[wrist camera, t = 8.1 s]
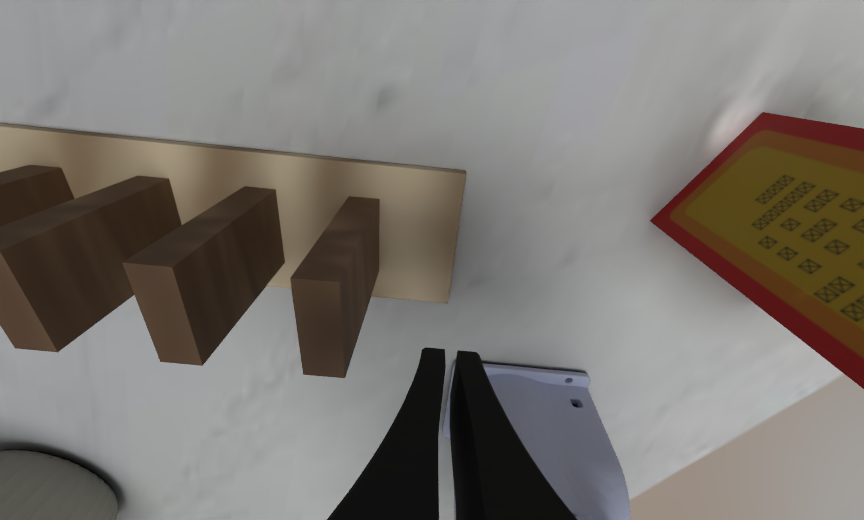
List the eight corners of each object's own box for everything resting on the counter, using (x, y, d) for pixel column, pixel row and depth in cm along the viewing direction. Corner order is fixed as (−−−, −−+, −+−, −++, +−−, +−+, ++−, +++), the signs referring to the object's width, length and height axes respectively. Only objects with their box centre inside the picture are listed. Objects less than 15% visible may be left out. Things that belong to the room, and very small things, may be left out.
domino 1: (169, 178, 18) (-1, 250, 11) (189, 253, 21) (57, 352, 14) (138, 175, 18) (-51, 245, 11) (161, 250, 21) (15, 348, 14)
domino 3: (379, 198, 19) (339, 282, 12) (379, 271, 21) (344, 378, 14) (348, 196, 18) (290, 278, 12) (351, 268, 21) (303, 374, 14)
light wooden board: (465, 170, 18) (466, 173, 18) (447, 297, 22) (447, 303, 22) (-49, 118, 18) (-64, 119, 17) (25, 257, 22) (15, 261, 21)
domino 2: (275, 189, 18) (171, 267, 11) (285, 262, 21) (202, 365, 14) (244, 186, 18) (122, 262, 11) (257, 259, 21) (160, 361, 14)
